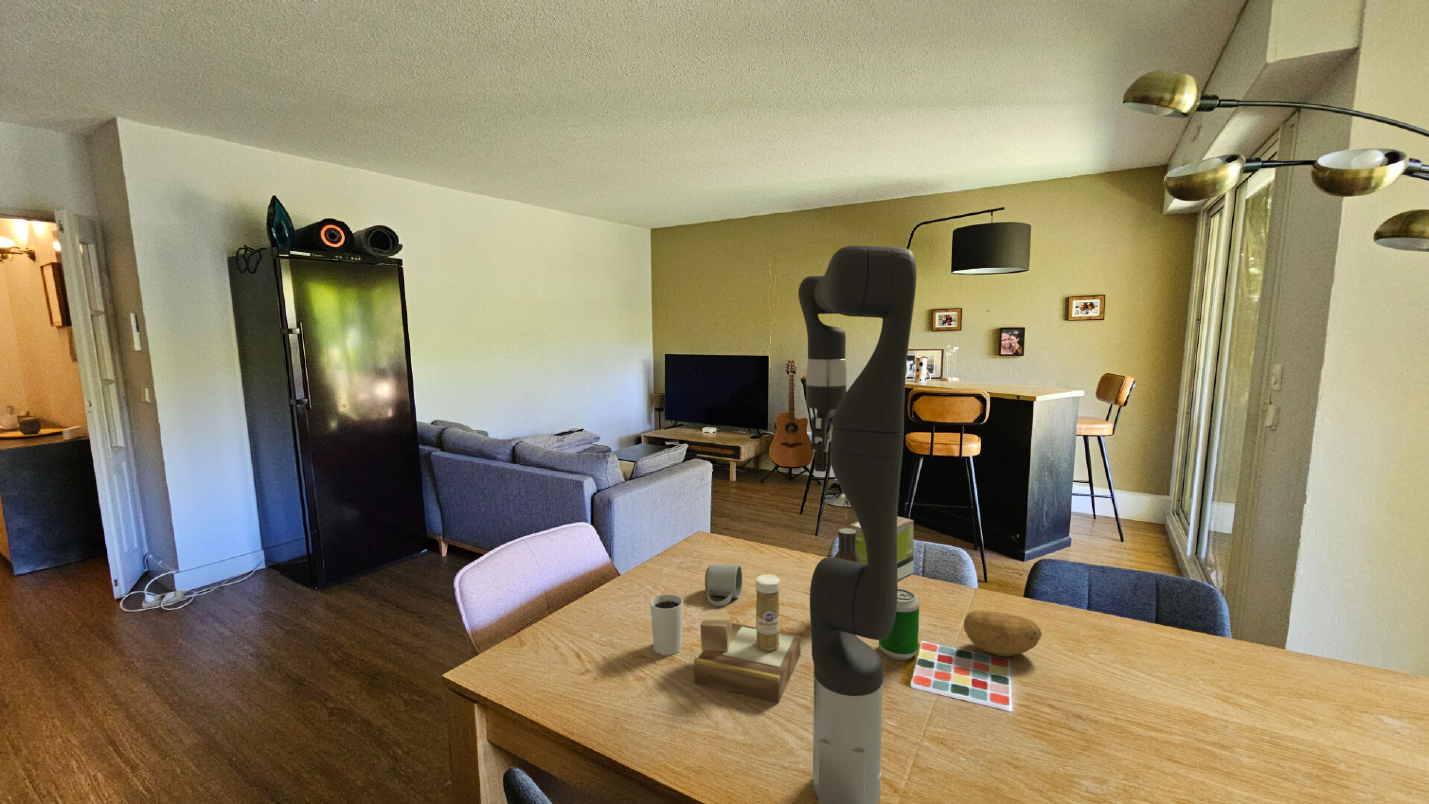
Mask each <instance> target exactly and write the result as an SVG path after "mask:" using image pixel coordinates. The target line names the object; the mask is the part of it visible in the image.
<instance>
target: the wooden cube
mask: <svg viewBox="0 0 1429 804" xmlns="http://www.w3.org/2000/svg"><path fill="white" fill-rule="evenodd" d="M732 621H733V619H732V613H721V612H720V613H719V612H706V613H705V615H704V617H703V619H702V621H701V622H700V624H699V625H700V626H699V627H700V642H701V651H704V650H708V651H722V652H728V649H729V647H730V644H731V642H732V639H733V633H732V623H733V622H732Z"/></svg>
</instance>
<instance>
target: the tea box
mask: <svg viewBox="0 0 1429 804" xmlns="http://www.w3.org/2000/svg"><path fill="white" fill-rule="evenodd" d="M849 528H850V529H853V530H855V531H856V534H857V537H856V552H857V555H858V558H859V560H860V563H864V564H868V563H867V552H866V545H865V540H864V536H863V532H862V529H861V526H860V524H859V521H858V520H857V521H856V522H853V523H850V524H849ZM914 534H915V533H914V519H910V518H906V517H901V516H898V515H897V581H899V580H901V579H903V578H905V577H906V576H907V577H908V576H909V575H911V574H913V573H914V549H915V548H914V542H915V541H914Z"/></svg>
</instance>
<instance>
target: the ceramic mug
mask: <svg viewBox="0 0 1429 804" xmlns="http://www.w3.org/2000/svg"><path fill="white" fill-rule="evenodd" d="M742 587H743V569H742V567H741V565H740V564H712V565H709V566H708V567H707V568H706V571H705V575H704V589H705V591H706V593H707V594H706V595H707V596H706V597H707V601H708V602H709V604H710V605H711V606H713V607H716V608H721V607H724V606H727V605H728V604H729V603H730V602H731V600H732V598H733V599H738V598H740V597H741V595H742V589H743V588H742ZM710 596H715V597H724V598H725V599H723V600H721V601H714V600H713V599H712V598H711V597H710Z"/></svg>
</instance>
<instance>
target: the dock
mask: <svg viewBox="0 0 1429 804" xmlns="http://www.w3.org/2000/svg"><path fill="white" fill-rule="evenodd" d="M732 633H733V639H732V642H731V644H730V647H729V649H728V652H722V651H708V650H702V652H701V653H700V655H699V656H698V657H695V658H694V659H693V666H694V667H693V668H694V669H693V670H694V672H693V673H694V684H696V683H697V685H700V684H701V686H706V687H709V688H714V689H718V690H722V691H726V692H731V693H734V694H739V695H743V696H747V697H751V698H756V699H761V700H765V701H769V702H773V703H777V704H779V703H780V702H781V698H782V696H783V694H784V692H785V691H786V687H787V685H788V683H789V681H790V678H791V677H792V675H793V672H794V671H795V668H796V666H797V663H798V661H799V660H800V657H801V652H802V651H801V644H802V643H801V641H802V640H801V635H799V634H798V635H797V634H792V633H789V632H788V633H786V632H781V631H779V647H778V648H777V649H776V650H773V651H764V650H761V649H759V648H758V647H757V646H756V641H757V629H756V627H755V626H749V625H744V624H739V623H733V622H732Z"/></svg>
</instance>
